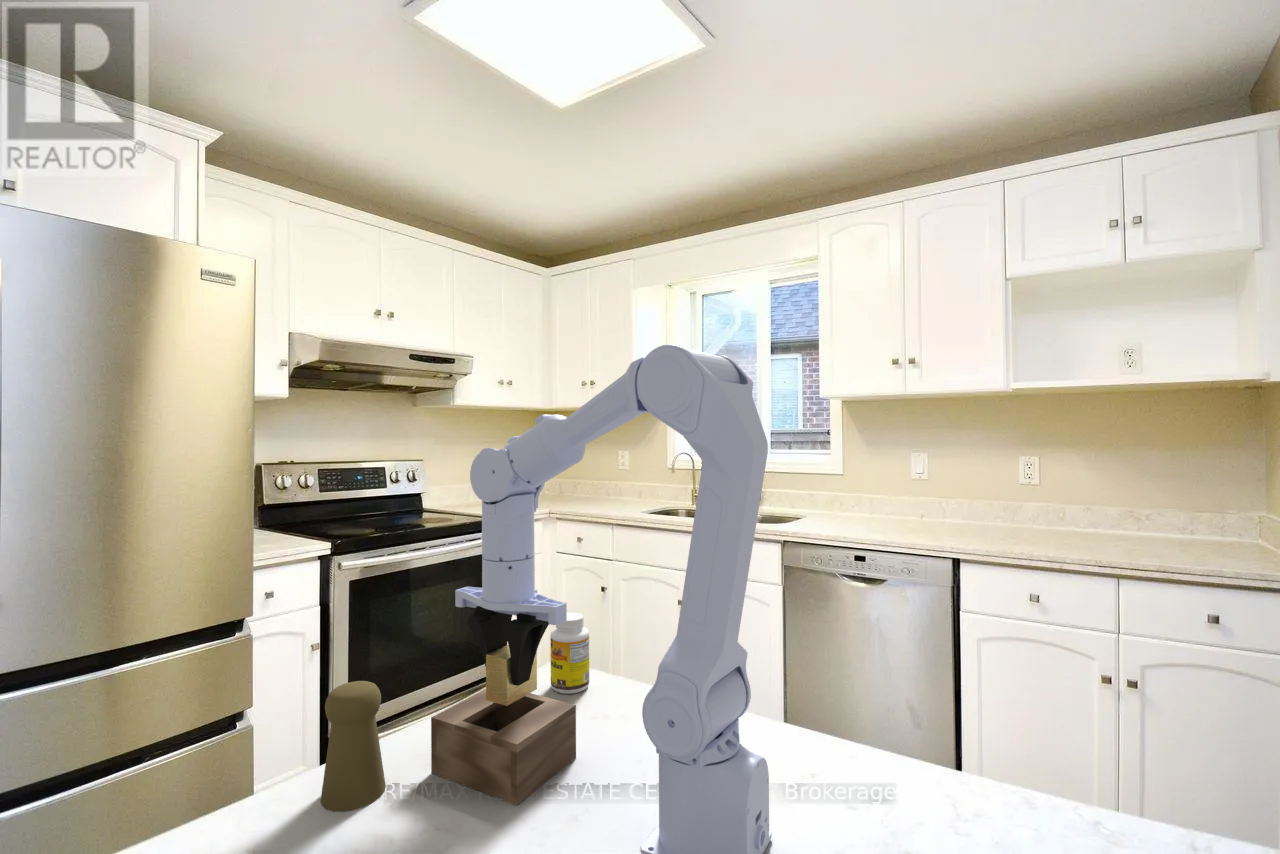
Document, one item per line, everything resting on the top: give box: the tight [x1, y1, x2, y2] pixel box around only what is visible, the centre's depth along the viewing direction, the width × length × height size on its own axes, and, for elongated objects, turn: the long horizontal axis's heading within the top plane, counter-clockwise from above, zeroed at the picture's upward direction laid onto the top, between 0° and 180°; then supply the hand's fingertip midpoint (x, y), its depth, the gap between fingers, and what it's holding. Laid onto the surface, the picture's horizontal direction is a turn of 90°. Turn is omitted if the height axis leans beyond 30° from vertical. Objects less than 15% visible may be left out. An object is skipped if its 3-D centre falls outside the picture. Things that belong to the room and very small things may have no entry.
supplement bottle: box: [549, 612, 590, 695], centre depth 89 cm, size 6×6×10 cm
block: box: [485, 644, 538, 706], centre depth 69 cm, size 3×5×5 cm, turn 150°
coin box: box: [430, 688, 577, 806], centre depth 68 cm, size 12×10×6 cm
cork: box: [320, 680, 387, 813], centre depth 63 cm, size 6×6×11 cm
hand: (509, 679), depth 69 cm, fingers closed on block, 3 cm apart
